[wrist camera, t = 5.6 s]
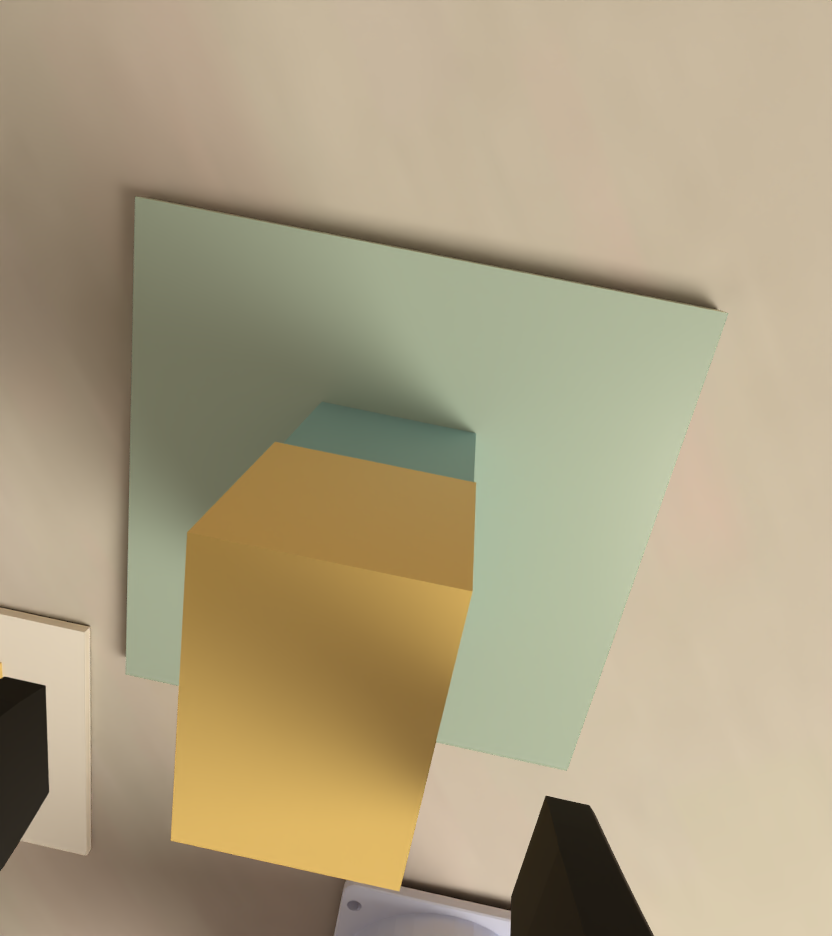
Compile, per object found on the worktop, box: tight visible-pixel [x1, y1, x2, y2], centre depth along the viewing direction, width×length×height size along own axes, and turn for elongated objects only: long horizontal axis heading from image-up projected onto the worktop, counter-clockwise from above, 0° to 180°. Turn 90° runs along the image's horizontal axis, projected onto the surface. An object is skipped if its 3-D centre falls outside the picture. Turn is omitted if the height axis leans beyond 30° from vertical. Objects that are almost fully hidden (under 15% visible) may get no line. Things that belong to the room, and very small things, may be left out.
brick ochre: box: [171, 442, 476, 892], centre depth 12 cm, size 6×4×4 cm, turn 170°
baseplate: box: [126, 197, 728, 771], centre depth 18 cm, size 14×14×1 cm
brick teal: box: [284, 402, 476, 482], centre depth 16 cm, size 6×4×4 cm, turn 170°
